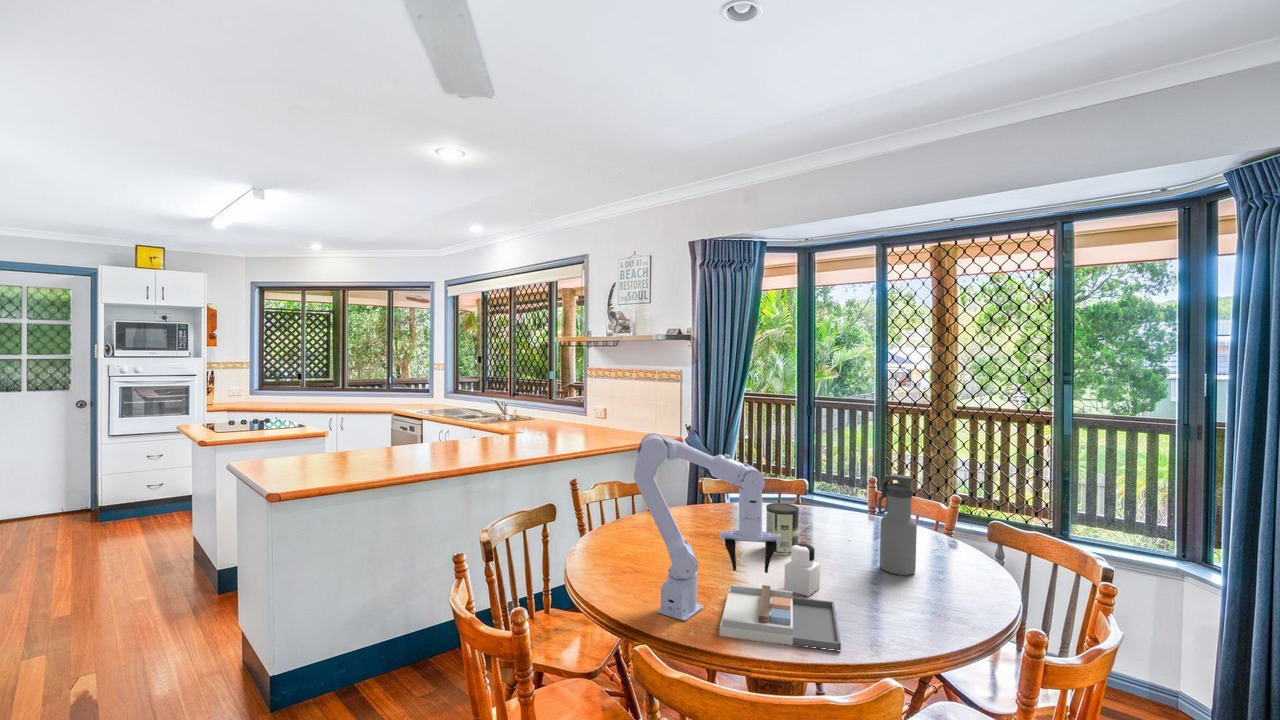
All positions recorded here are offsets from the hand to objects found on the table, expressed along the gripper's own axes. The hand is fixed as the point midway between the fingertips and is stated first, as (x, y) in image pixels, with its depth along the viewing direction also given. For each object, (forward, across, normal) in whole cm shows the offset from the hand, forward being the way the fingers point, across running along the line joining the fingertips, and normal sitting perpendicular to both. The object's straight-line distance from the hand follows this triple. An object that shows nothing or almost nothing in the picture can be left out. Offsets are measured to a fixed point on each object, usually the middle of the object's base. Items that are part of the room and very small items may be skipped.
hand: (750, 570), depth 148 cm
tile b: (+8, -7, +8) cm, 14 cm away
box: (+10, -15, +6) cm, 19 cm away
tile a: (+8, -7, +2) cm, 11 cm away
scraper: (+8, -3, +5) cm, 10 cm away
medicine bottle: (+10, -14, -16) cm, 23 cm away
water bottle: (+11, -43, -37) cm, 58 cm away
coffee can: (+10, -10, -47) cm, 49 cm away
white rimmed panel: (+10, -2, +5) cm, 11 cm away
